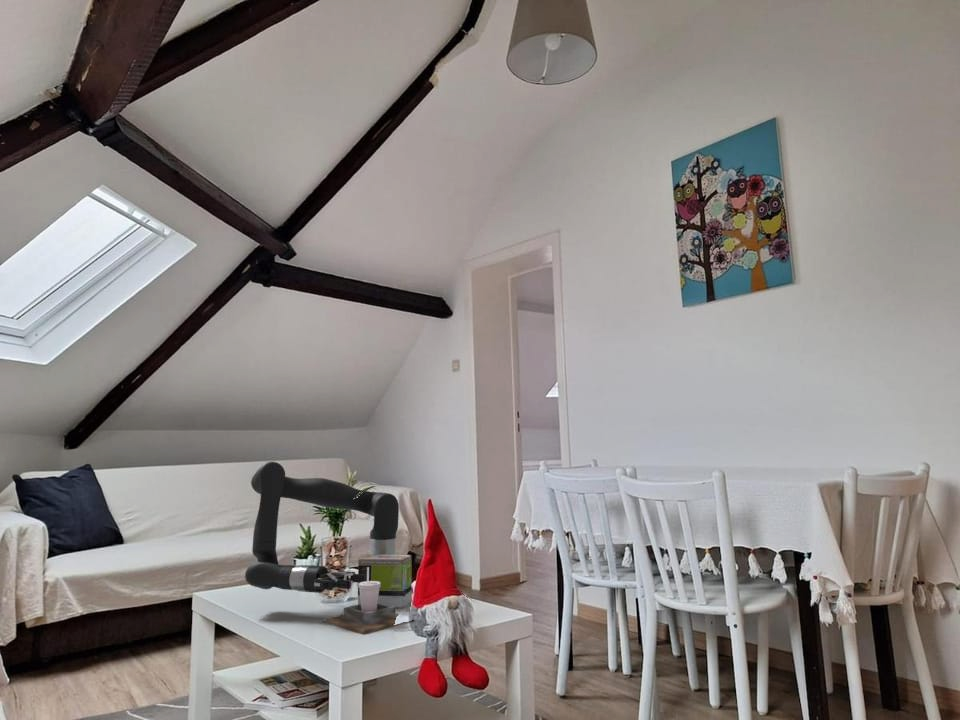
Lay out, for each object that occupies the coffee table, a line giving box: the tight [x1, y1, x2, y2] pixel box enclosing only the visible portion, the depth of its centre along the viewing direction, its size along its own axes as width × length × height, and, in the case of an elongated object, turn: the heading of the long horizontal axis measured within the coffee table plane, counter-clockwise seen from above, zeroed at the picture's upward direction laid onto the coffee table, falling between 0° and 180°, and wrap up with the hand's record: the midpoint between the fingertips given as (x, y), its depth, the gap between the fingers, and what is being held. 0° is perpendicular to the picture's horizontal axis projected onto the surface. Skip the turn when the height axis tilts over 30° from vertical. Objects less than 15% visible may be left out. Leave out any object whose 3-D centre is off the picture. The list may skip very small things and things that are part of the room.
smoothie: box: [357, 567, 381, 612], centre depth 177 cm, size 6×6×14 cm
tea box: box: [357, 554, 413, 609], centre depth 197 cm, size 15×10×15 cm, turn 79°
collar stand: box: [324, 603, 400, 635], centre depth 176 cm, size 18×18×4 cm
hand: (357, 581), depth 179 cm, fingers open, 8 cm apart
